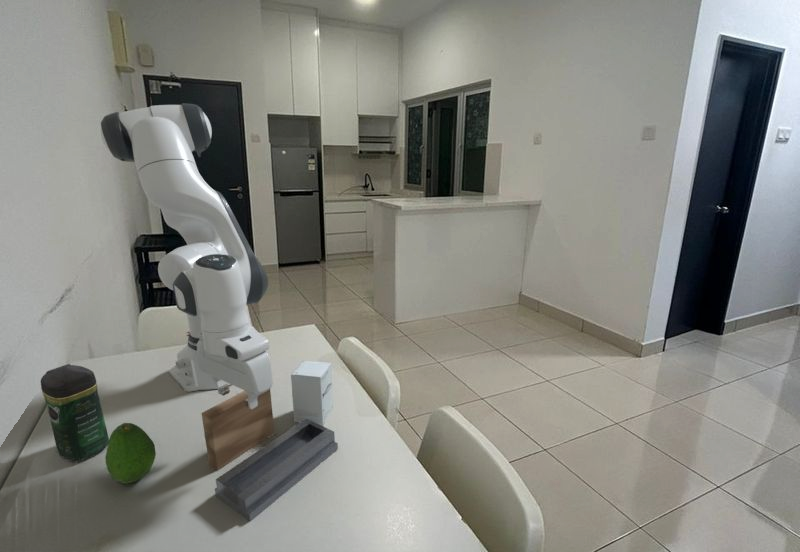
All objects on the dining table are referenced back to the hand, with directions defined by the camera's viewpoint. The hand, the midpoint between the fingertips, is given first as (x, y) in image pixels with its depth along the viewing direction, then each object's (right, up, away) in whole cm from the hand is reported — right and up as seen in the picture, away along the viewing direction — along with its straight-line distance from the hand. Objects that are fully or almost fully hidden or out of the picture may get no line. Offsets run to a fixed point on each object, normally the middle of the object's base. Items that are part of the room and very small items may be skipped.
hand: (237, 400), depth 85 cm
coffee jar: (-34, -12, +4) cm, 36 cm away
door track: (+10, -13, -3) cm, 17 cm away
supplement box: (+13, -8, +15) cm, 21 cm away
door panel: (0, -11, +4) cm, 12 cm away
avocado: (-18, -14, -5) cm, 23 cm away
